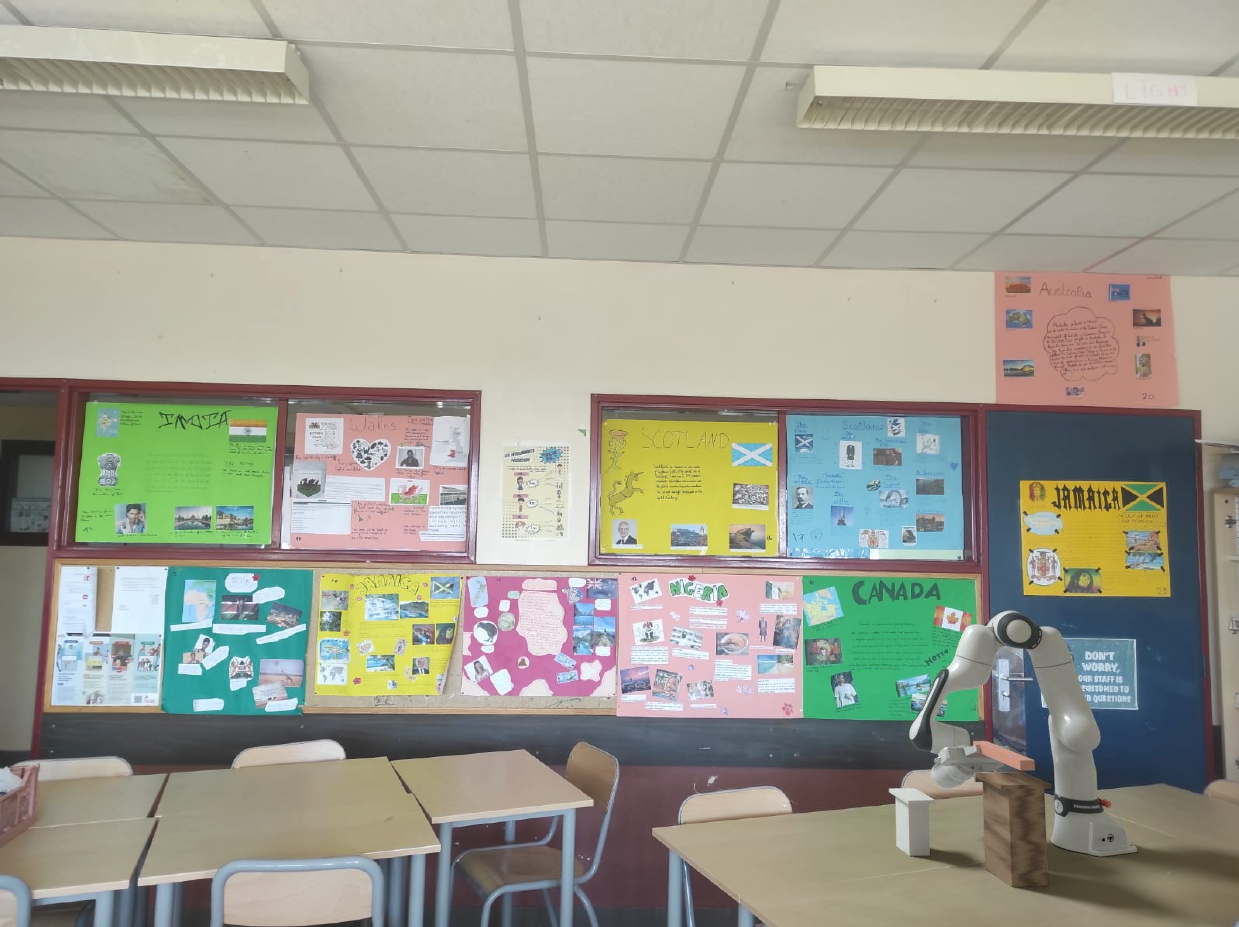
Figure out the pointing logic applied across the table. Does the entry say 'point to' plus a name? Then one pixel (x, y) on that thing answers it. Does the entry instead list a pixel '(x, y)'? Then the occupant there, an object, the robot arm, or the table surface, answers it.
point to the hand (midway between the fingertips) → (987, 747)
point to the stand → (912, 821)
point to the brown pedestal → (1015, 827)
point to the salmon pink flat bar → (1005, 756)
